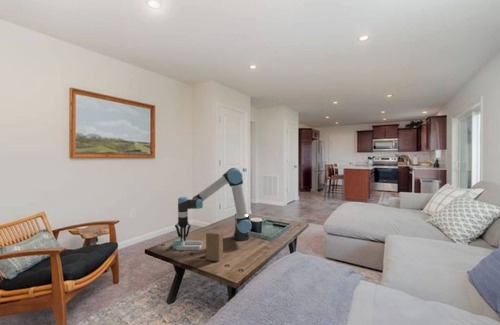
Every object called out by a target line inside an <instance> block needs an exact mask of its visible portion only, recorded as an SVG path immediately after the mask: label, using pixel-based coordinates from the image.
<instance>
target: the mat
mask: <svg viewBox="0 0 500 325" xmlns="http://www.w3.org/2000/svg"><path fill="white" fill-rule="evenodd" d="M171 248H173V244H170V245H169V246H168V247H167V249H166V252H168V251H170V250H171Z"/></svg>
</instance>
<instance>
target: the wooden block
mask: <svg viewBox="0 0 500 325" xmlns="http://www.w3.org/2000/svg"><path fill="white" fill-rule="evenodd" d="M205 250H206V251H205V253H206V254H205V255H206V257H205V259H206V261H213V262H220V261H221V259H222V257H223V256H224V231H223V229H214V228H211V229H209V230H208V231H207V232H206V233H205Z"/></svg>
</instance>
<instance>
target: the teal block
mask: <svg viewBox="0 0 500 325" xmlns="http://www.w3.org/2000/svg"><path fill="white" fill-rule="evenodd" d="M172 245H173V246H172V249H173V250H174V249H175V250H177V248H176V247H177V246H182V241H181V238H178V239H174V241H173V242H172Z"/></svg>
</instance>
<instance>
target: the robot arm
mask: <svg viewBox="0 0 500 325" xmlns="http://www.w3.org/2000/svg"><path fill="white" fill-rule="evenodd" d="M227 184H228V185H229V187H230V188H231V191H232V196H233V203H234V207H235V214H234V232H233V235H232V239H233V240H235V241H239V242H242V241H244V242H245V241H247V240H250V237H251V235H250V231H251V230H252V222H251V219H250V214H249V213H248V212H247V207H246V201H245V195H244V192H243V191H244V190H243V184H244V179H243V173H242V171H241V170H240V169H239V168H236V167H231V168H229V169H228V170H227V171H226V172H224V173H223V174H222V176H221V177H220V178H218V179H216V180H215V181H214V182H213V183H211V184H210V185H208V186H207V187H206V188H205V189H203V190H202V191H200V192H199V193H198V194H196V195H195V196H192V199H188V197H187V196H180V197H178V198H177V223H176V224H175V225H174V227H175V229H176V230H175V231H176V233H177V237H178V238H180V239H181V241H182V246H184V245H185V241H187V238H188V236H189V232H190V229H191V226H192V224H190V223H189V221H188V220H189V211H188V210H195V209H196V210H197V209H198V210H199V209H203V206H204V205H203V204H204V203H203V202H204V201H205V200H206V199H208V198H210V197H211V196H213V195H214V194H215V193H217V192H218V191H219V190H220V189H221V188H224V186H226V185H227Z"/></svg>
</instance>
